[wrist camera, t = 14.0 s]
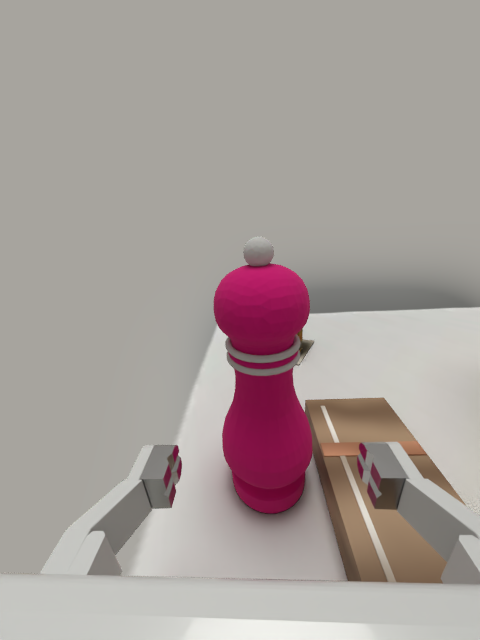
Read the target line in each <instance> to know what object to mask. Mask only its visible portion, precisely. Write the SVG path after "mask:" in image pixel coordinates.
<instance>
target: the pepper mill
mask: <svg viewBox="0 0 480 640" xmlns="http://www.w3.org/2000/svg"><path fill="white" fill-rule="evenodd" d="M243 253H244V258H245V260H246V262H247V263H248V264H249V265H246V266H242V267H240V268H238V269H235V270H233V271H232V272H230V273H229V274H227V275H226V276H225V277H224V278H223V279H222V280H221V282H220V284H219V286H218V288H217V290H216V292H215V297H214V314H215V319H216V322H217V324H218V326H219V328H220V329H221V330H222V331H223V333H225V334H226V335H227V336H228V338H227V340H226V344H225V345H226V349H227V351H228V352H227V360H228V362H229V364H230V365H231V366H232V367H233V368H234V369H235V375H236V385H235V393H234V399H233V402H232V404H231V406H230V409H229V411H228V413H227V416H226V418H225V422H224V427H223V433H222V438H223V452H224V456H225V459H226V462H227V463H228V465H229V467H230V469H231V470H232V476H233V483H234V487H235V489H236V492H237V494H238V495H239V497H240V498H241V499H242V500H243V502H244V503H245V504H247V505H248V506H249V507H251V508H252V509H254V510H256V511H259V512H262V513H278V512H282V511H285V510H287V509H289V508H290V507H292V506H293V505H294V504H295V503H296V502H297V501H298V500H299V498H300V496H301V495H302V492H303V489H304V483H305V470H306V469H307V467H308V466H309V463H310V460H311V457H312V451H313V448H312V433H311V429H310V425H309V422H308V419H307V416H306V414H305V412H304V410H303V409H302V407H301V405H300V403H299V400H298V398H297V396H296V393H295V389H294V386H293V375H292V373H293V367H294V366H295V365H296V364H297V363H298V361H299V359H300V351H299V347H300V344H301V342H300V338H299V337H298V335H297V333H298V332H299V331H301V329H302V328H303V327H304V325H305V324H306V322H307V319H308V316H309V311H310V303H309V302H310V301H309V295H308V291H307V288H306V286H305V284H304V282H303V280H302V279H301V278H300V277H299V276H298V275H297V274H296V273H295V272H293V271H291V270H290V269H288V268H286V267H283V266H281V265H276V264H270V262H271V260H272V258H273V255H274V250H273V246H272V244H271V242H270V241H269V240H267V239H266V238H264V237H254V238H252V239H250V240H249V241H248V242H247V243H246V245H245V247H244V252H243Z"/></svg>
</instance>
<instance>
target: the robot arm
mask: <svg viewBox="0 0 480 640" xmlns="http://www.w3.org/2000/svg"><path fill="white" fill-rule="evenodd" d="M359 450H360V452H361V453H360V454H359V455H358V456H357V467H358V471H359V474H360V477H361V479H362V481H363V482H364V483H365V484H367V485H368V488H367V493H368V495H369V498H370V500H371V502H372V504H373V507H374V509H387V510H397V512H398V513H399V514H400V515H401V516H402V517H403V518H404V519H405V520H406V521H407V522H408V523H409V524H410V525H411V526H412V527H413V528H414V529H415V530H416V531H417V532H418V533H419V534H420V535H421V536H422V537H423V538H424V539H425V540H426V541H427V542H428V543H429V544H430V545H431V546H432V547H433V548H434V549H435V550H436V551H437V553H438V554H439V555H440V556H441V557H442V558H443V559H444V560H445V561H446V562H447V564H446V566H445V568H444V571H443V573H442V575H441V580H442V582H443V584H441V583H400V582H360V581H320V580H280V579H239V578H198V577H156V576H121V573H122V569H121V566H120V564H119V562H118V560H117V558H116V556H115V555H116V554H117V553H118V552H119V550H120V549H121V548H122V547H123V545H124V544H125V543H126V542H127V540H128V539H129V538H130V537H131V535H132V534H133V533H134V532H135V530H136V529H137V528H138V527H139V525H140V524H141V523H142V522H143V521H144V519H145V518H146V517H147V516H148V514H149V513H150V512H151V511H152V509H159V508H172V504H173V501H174V497H175V494H176V489H175V485H176V484H177V483H178V482H179V479H180V476H181V469H182V462H181V458H180V457H179V456H178V453H179V449H178V446H177V445H145V446H144V447H143V448H142V449H141V451H140V453H139V455H138V457H137V459H136V461H135V463H134V466H133V467H132V470H131V471H130V474H129V475H128V478H127V480H122V481H121V482H120V483H119V484H118V485H117V486H116V487H115V488H113V489H112V490H111V491H110V492H109V493H108V494H107V495H105V496H104V497H103V498H102V499H101V500H100V501H99V502H97V503H96V504H95V505H94V506H93V507H91V508H90V509H89V510H88V511H87V512H86V513H85V514H84V515H82V516H81V517H80V518H79V519H78V520H77V521H75V522H74V523H73V524H72V525H71V526H70V527H69V528H67V529H66V531H65V533H64V534H63V536H62V538H61V539H60V541H59V542H58V545H57V546H56V547H55V549H54V551H53V552H52V554H51V556H50V558H49V559H48V561H47V562H46V564H45V565H44V567H43V569H42V570H41V572H40V574H31V573H0V640H480V515H478V514H477V513H475V512H474V511H473V510H471V509H470V508H468V507H467V506H465V505H464V504H463V503H461V502H460V501H458V500H457V499H456V498H454V497H453V496H451V495H450V494H449V493H447V492H446V491H444V490H443V489H442V488H440V487H439V486H437V485H436V484H434V483H433V482H432V481H430V480H429V479H424V478H423V477H422V475H421V474H420V472H419V471H418V469H417V468H416V466H415V465H414V463H413V462H412V461H411V459H410V458H409V456H408V455H407V453H406V452H405V450H404V449H403V447H402V446H401V445H400V443H398V442H361V443H360V444H359Z"/></svg>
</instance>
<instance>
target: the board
mask: <svg viewBox="0 0 480 640" xmlns="http://www.w3.org/2000/svg"><path fill="white" fill-rule="evenodd" d="M305 414H306V416H307V419H308V422H309V425H310V429H311V433H312V448H313V454H314V458H315V461H316V465H317V469H318V472H319V476H320V480H321V483H322V487H323V491H324V494H325V498H326V502H327V505H328V509H329V513H330V517H331V520H332V524H333V528H334V531H335V535H336V539H337V542H338V546H339V550H340V553H341V557H342V561H343V564H344V568H345V572H346V575H347V579H348V581H360V582H400V583H441V584H443V582H442V580H441V575H442V573H443V571H444V568H445V566H446V564H447V562H446V561H445V560H444V559H443V558H442V557H441V556H440V555H439V554H438V553H437V551H436V550H435V549H434V548H433V547H432V546H431V545H430V544H429V543H428V542H427V541H426V540H425V539H424V538H423V537H422V536H421V535H420V534H419V533H418V532H417V531H416V530H415V529H414V528H413V527H412V526H411V525H410V524H409V523H408V522H407V521H406V520H405V519H404V518H403V517H402V516H401V515H400V514H399V513H398V512H397V510H387V509H374V507H373V504H372V502H371V500H370V498H369V495H368V493H367V488H368V485H367V484H365V483H364V482H363V481H362V479H361V477H360V474H359V471H358V467H357V456H358V455H359V454H360V453H361V452H360V450H359V444H360V443H361V442H398V443H400V445H401V446H402V447H403V449H404V450H405V452H406V453H407V455H408V456H409V458H410V459H411V461H412V462H413V463H414V465H415V466H416V468H417V469H418V471H419V472H420V474H421V475H422V477H423V478H424V479H429V480H430V481H432V482H433V483H434V484H436V485H437V486H439V487H440V488H442V489H443V490H444V491H446V492H447V493H449V494H450V495H451V496H453V497H454V498H456V499H457V500H458V501H460V502H461V503H463V504H464V505H465V503H464V502H463V501H462V499H461V498H460V497H459V495H458V494H457V493H456V492H455V490H454V489H453V488H452V486H451V485H450V484H449V482H448V481H447V480H446V478H445V477H444V476H443V474H442V473H441V472H440V471H439V469H438V468H437V467H436V465H435V464H434V463H433V461H432V460H431V459H430V457H429V456H428V455H427V454H426V452H425V451H424V450H423V448H422V447H421V446H420V444H419V443H418V442H417V440H416V439H415V438H414V437H413V435H412V434H411V433H410V431H409V430H408V429H407V427H406V426H405V425H404V423H403V422H402V421H401V420H400V418H399V417H398V416H397V414H396V413H395V412H394V410H393V409H392V408H391V406H390V405H389V404H388V403H387V401H386V400H385V399H384V398H358V399H325V400H305ZM465 506H466V505H465Z"/></svg>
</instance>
